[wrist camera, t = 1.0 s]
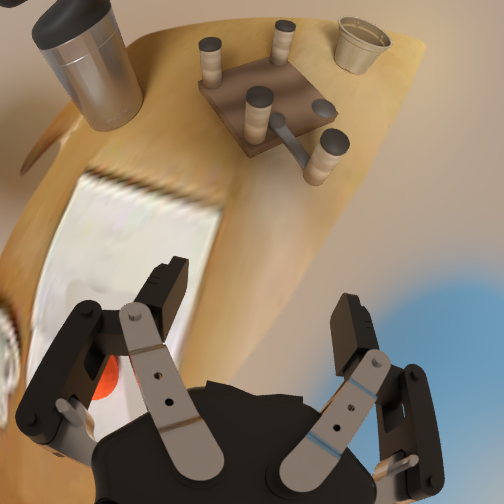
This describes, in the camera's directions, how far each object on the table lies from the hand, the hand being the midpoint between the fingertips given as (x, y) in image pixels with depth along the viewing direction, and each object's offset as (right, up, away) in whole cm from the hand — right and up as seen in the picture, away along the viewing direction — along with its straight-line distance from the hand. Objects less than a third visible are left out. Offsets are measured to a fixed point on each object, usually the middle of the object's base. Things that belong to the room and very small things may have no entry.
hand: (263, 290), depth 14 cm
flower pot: (+17, +35, +24) cm, 46 cm away
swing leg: (+5, +14, +17) cm, 22 cm away
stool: (+1, +23, +21) cm, 31 cm away
